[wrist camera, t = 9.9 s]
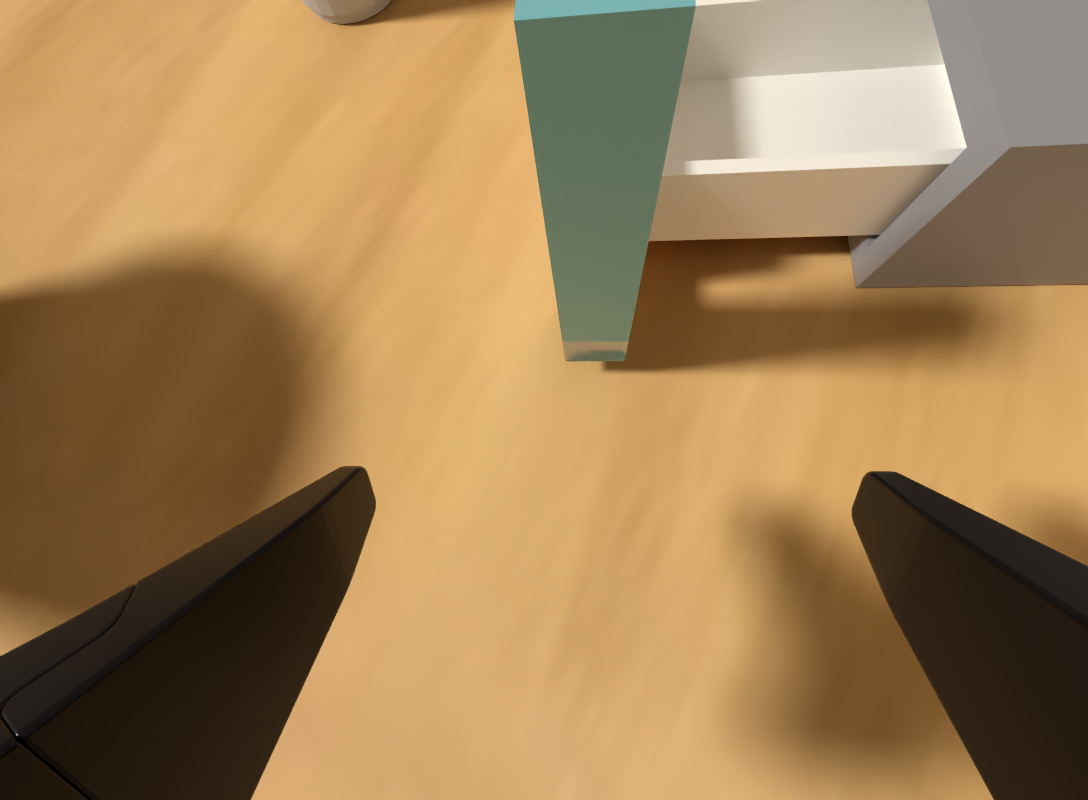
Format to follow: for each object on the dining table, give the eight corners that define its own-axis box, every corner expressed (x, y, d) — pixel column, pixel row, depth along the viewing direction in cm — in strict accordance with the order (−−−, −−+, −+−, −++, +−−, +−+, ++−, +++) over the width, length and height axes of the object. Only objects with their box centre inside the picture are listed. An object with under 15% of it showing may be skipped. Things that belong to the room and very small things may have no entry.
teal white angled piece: (940, 43, 21) (1446, -660, 9) (1025, 361, 17) (2282, -124, 4) (573, 69, 23) (552, -480, 10) (565, 361, 19) (513, 20, 6)
